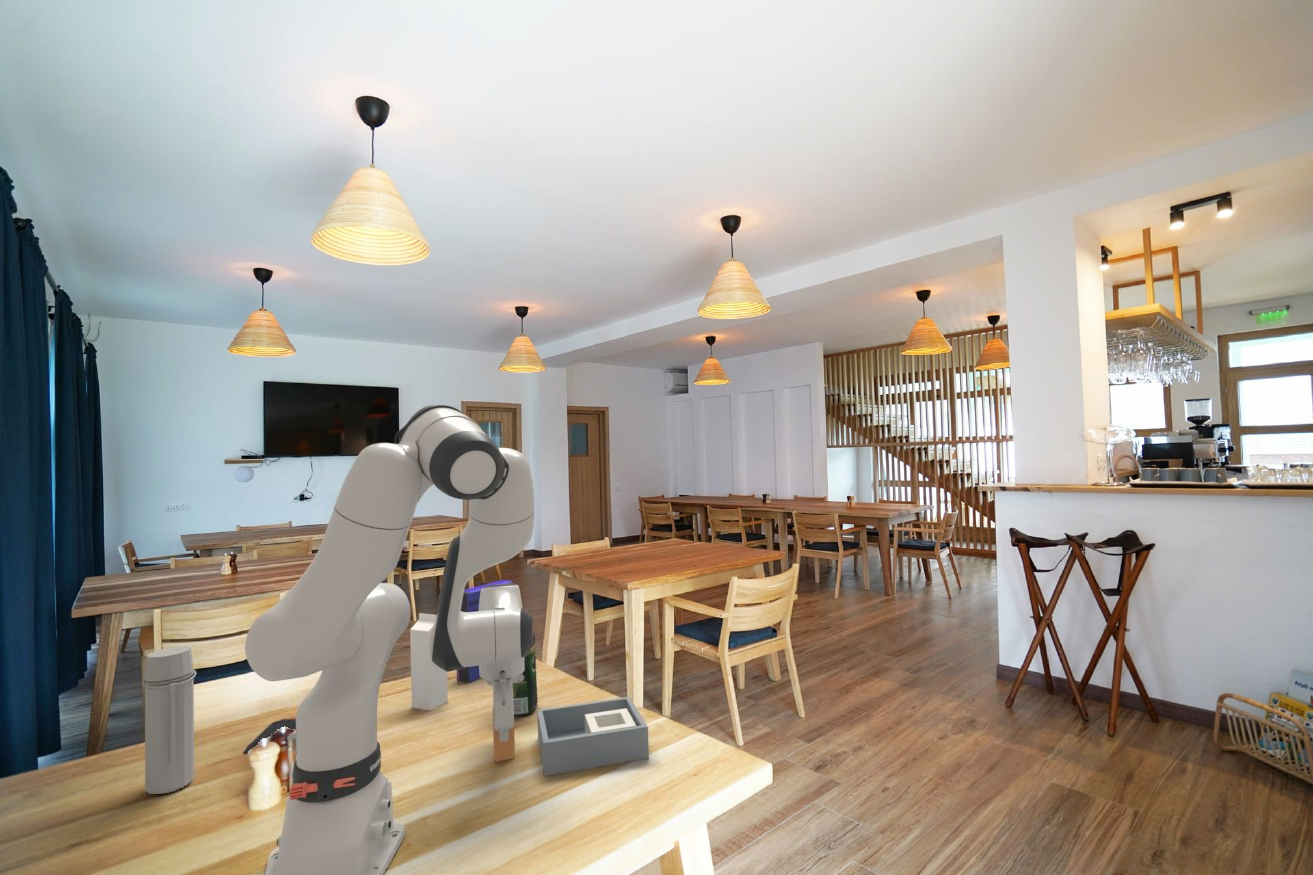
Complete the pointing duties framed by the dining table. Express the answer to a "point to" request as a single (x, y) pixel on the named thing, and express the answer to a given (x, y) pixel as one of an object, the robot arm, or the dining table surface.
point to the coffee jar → (526, 685)
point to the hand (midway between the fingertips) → (503, 734)
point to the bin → (588, 737)
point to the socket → (608, 721)
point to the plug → (503, 745)
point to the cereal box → (472, 605)
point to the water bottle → (169, 720)
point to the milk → (425, 668)
